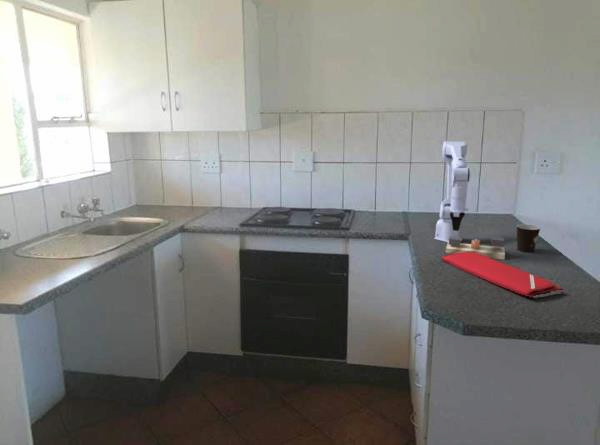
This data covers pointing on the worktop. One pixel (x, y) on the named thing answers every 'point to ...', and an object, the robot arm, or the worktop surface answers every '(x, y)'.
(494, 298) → the worktop surface
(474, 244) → the orange knob
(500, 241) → the button
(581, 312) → the worktop surface
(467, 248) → the mount board
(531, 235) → the coffee mug
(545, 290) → the dish drying mat
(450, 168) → the robot arm
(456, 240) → the button
